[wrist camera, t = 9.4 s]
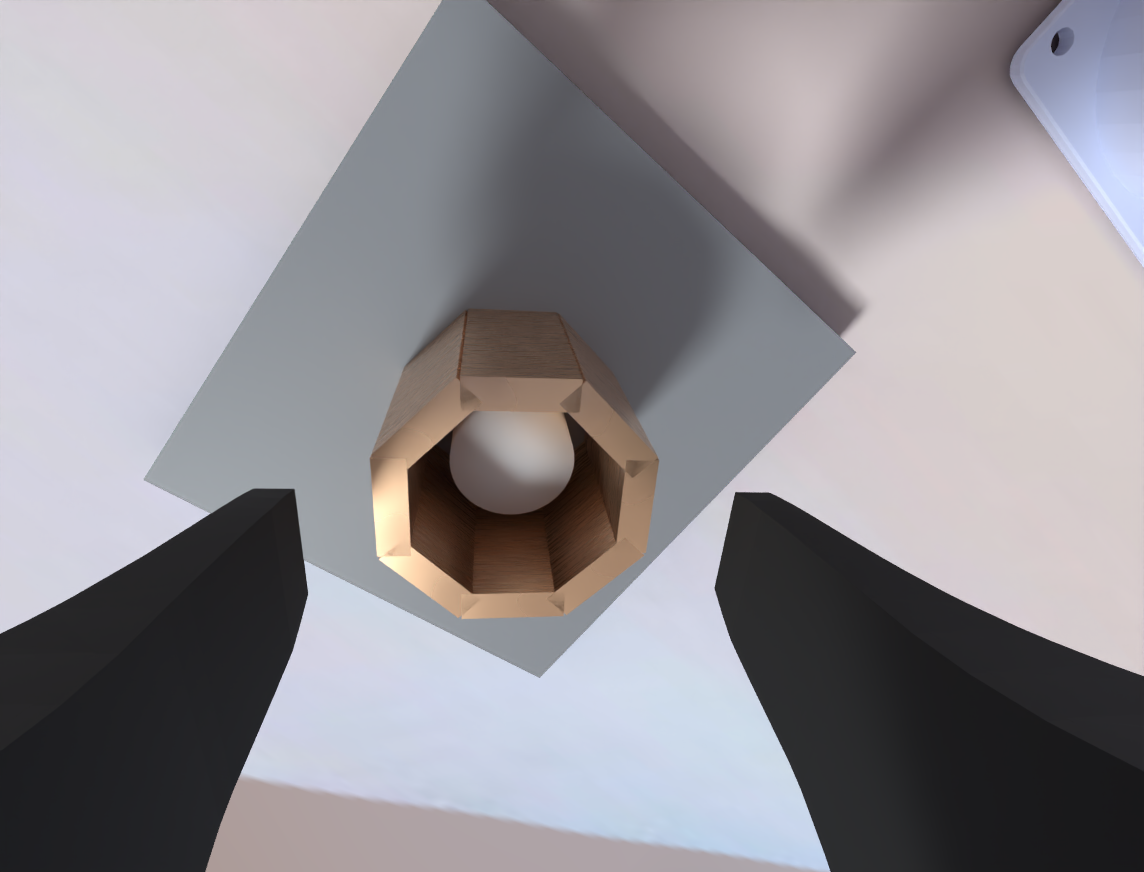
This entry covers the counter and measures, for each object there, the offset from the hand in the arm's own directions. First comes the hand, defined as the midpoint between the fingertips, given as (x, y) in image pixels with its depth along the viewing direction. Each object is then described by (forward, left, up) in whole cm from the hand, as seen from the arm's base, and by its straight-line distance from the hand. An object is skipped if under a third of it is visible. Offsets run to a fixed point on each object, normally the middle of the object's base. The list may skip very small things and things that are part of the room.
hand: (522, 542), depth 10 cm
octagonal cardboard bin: (0, 0, -6) cm, 6 cm away
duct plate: (0, 0, -7) cm, 7 cm away
